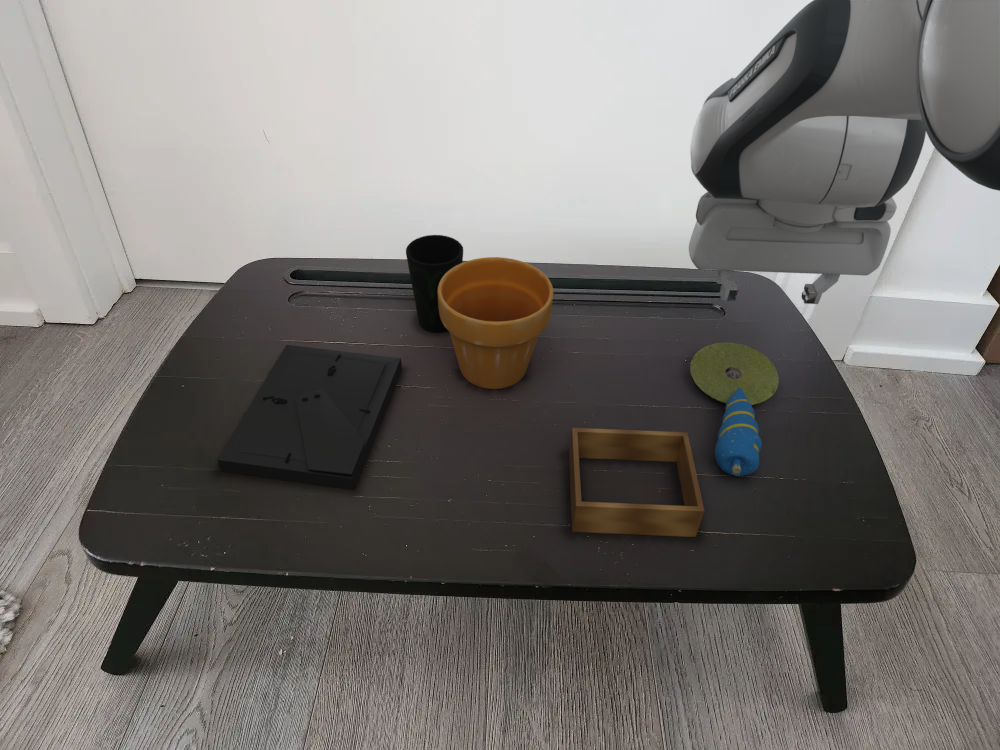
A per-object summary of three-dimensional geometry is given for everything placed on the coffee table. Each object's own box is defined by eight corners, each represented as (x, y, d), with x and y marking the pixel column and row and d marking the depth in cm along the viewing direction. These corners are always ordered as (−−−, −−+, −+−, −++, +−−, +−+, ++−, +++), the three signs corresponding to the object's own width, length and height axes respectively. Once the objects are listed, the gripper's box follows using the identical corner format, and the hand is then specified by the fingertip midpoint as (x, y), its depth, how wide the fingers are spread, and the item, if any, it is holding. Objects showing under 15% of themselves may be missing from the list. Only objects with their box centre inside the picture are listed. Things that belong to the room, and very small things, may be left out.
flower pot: (549, 339, 102) (555, 260, 93) (543, 408, 91) (550, 327, 83) (449, 331, 103) (447, 252, 94) (433, 399, 92) (428, 318, 83)
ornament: (756, 407, 92) (758, 494, 81) (714, 402, 93) (711, 488, 82) (762, 375, 89) (766, 462, 78) (719, 371, 90) (717, 456, 79)
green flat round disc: (792, 386, 95) (797, 376, 93) (737, 429, 90) (741, 419, 89) (725, 340, 101) (728, 330, 100) (670, 377, 96) (672, 367, 95)
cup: (443, 299, 108) (441, 228, 100) (475, 323, 104) (474, 251, 96) (401, 318, 105) (394, 246, 97) (431, 344, 100) (427, 271, 92)
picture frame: (354, 490, 81) (402, 370, 96) (351, 473, 79) (400, 353, 94) (221, 471, 83) (289, 356, 98) (215, 455, 81) (285, 340, 96)
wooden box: (680, 458, 85) (687, 432, 82) (695, 537, 77) (704, 511, 74) (568, 453, 86) (571, 427, 83) (572, 532, 77) (576, 505, 74)
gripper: (707, 200, 72) (681, 312, 81) (913, 207, 72) (865, 319, 81) (696, 172, 77) (673, 281, 86) (890, 178, 77) (846, 287, 86)
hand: (768, 299), depth 83 cm, fingers open, 8 cm apart
